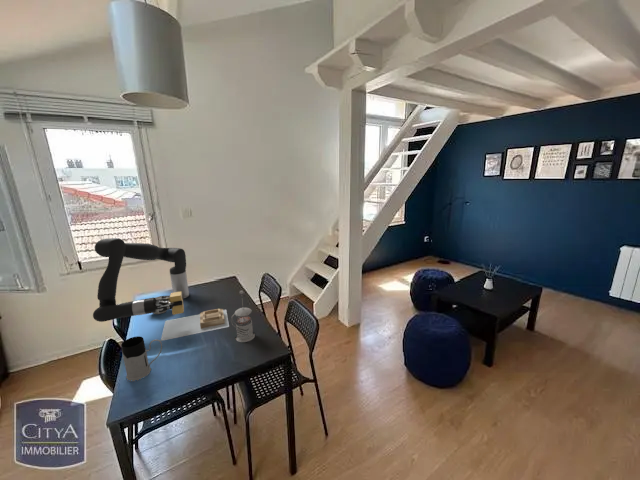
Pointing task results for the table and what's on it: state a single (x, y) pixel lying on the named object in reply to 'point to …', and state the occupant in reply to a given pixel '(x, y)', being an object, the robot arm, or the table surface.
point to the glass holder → (136, 358)
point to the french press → (245, 331)
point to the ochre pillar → (177, 297)
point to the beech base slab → (211, 318)
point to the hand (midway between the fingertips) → (182, 300)
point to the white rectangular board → (188, 326)
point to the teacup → (157, 309)
